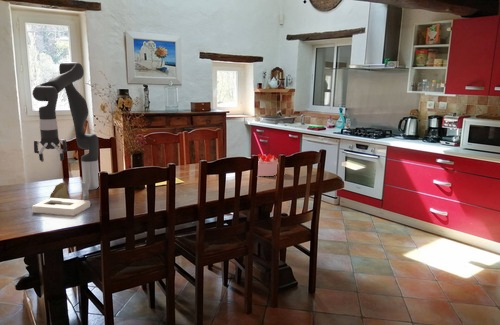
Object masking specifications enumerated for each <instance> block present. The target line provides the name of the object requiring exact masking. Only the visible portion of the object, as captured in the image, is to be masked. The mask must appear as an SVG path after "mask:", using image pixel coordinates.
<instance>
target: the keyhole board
mask: <svg viewBox="0 0 500 325" xmlns="http://www.w3.org/2000/svg"><path fill="white" fill-rule="evenodd" d="M90 202H91V201H90V200H89V201H88V200H83V199H72V198H69V199H61V198H50V197H49V198H47V199H44V200H42V201H40V202H38V203H36V204H34V205H31V206H32V207H31V210H32V211H31V212H32V214H39V215H40V214H41V215H51V216H52V215H54V216H66V217H76V216H77V215H79V214H81V213H82V212H84V211H86V210H88V209H89V208H91V205H90Z"/></svg>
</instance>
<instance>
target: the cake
mask: <svg viewBox="0 0 500 325" xmlns="http://www.w3.org/2000/svg"><path fill="white" fill-rule="evenodd" d="M257 156H259V161H258V175H259V176H273V175H276V173H277V164H278V165H279V161H278V159H277V157H276V156H275V155H274V154H273V155H272V153H268V154H267V155H266V154H263V155H262V154H261V153H258V154H257ZM259 176H258V177H259Z"/></svg>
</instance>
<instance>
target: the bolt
mask: <svg viewBox="0 0 500 325" xmlns="http://www.w3.org/2000/svg"><path fill="white" fill-rule="evenodd" d="M81 193H82V194H81V195H82V200H88V201H90V196H89V190H88V182H83V181H82V182H81ZM90 206H92V202H91V201H90Z"/></svg>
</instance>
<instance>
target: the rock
mask: <svg viewBox="0 0 500 325" xmlns="http://www.w3.org/2000/svg"><path fill="white" fill-rule="evenodd" d="M49 198H61V199H70V194H69V190H68V186H67V183H66V182H60V183H58V184H57V185H55V187H54V188H53V190H52V192H51V193H50V196H49Z"/></svg>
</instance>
